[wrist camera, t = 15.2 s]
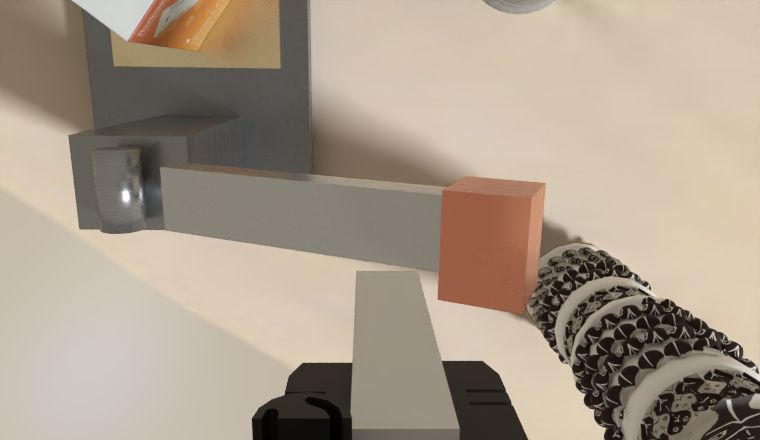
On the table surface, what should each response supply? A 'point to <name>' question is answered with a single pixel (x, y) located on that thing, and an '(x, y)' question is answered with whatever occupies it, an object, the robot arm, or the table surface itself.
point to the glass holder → (518, 5)
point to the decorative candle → (642, 353)
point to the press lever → (347, 220)
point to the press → (201, 100)
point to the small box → (158, 20)
